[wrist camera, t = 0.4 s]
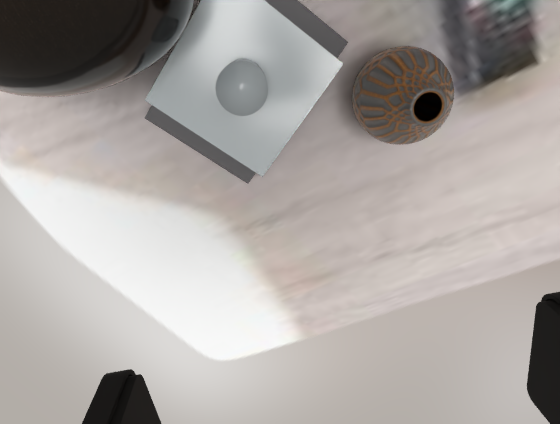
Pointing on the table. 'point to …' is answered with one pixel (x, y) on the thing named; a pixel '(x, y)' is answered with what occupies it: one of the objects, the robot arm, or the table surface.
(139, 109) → the table surface
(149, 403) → the robot arm
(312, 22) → the mat
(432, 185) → the table surface
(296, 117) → the lid
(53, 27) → the dark brown round pot
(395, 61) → the vase
